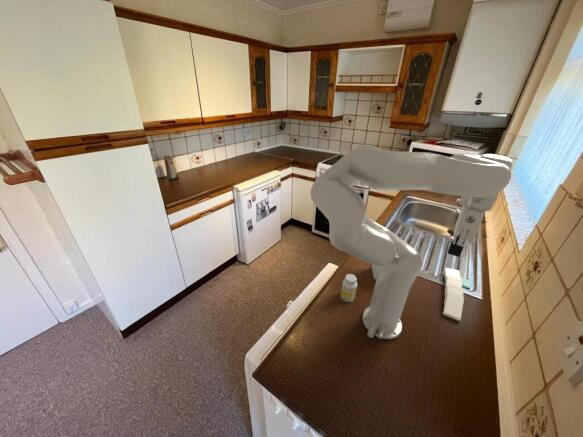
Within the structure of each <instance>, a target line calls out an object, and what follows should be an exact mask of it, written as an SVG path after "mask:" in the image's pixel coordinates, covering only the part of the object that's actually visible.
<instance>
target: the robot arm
mask: <svg viewBox="0 0 583 437" xmlns="http://www.w3.org/2000/svg"><path fill="white" fill-rule="evenodd" d="M512 166H513V160H512V159H511V158H509V157H508V156H504V155H498V154H493V153H486V154H485V153H484V154H481V155H475V154H467V153H458V154H453V155H451V156H446V155H442V154H439V153H438V154H436V153H433V152H427V151H426V152H425V151H423V152H421V151H420V152H419V151H397V150H396V151H394V150H385V149H383V148H379V147H378V146H374V145H371V144H361V145H359V146H356V147H354V148H353V149H351V150H350V151H349V152H347V153H346V154H344V155H343V156H342V157H341V158H340V159H338V160H337V161H336V162H335V163H334V164H332V165H331V166H330V167H329V168H328V169H326V170H325V171H324V172H323V173H322V174H320V175H319V176H318V177H317V178H316V180H314V182H313V184H312V186H311V188H310V191H309V192H310V193H309V194H310V198H311V201H312V202H313V204H314V205H315V206H316V207H317V209H318V210H319V211H320V212H321V213H322V214H323V216H324V217H325V218H326V219H327V220H328V223H329V231H328V233H329V234H328V236H329V240H330V244H331V245H332V246H334V248H336V249H338V250H340V251H342V252H345V253H347V254H349V255H351V256H353V257H355V258H357V259H359V260H362V261H365V262H366V263H368V264H371V265H373V264H374V265H382V266H383V267H384V269H385V272H383V273H381V274H380V275H379V276H378V277H377V279H375V285H374V288H373V293H372V297H371V301H370V305H369V306H368V307H366V308H365V309H364V311H363V314H362V322H363V324H364V326H365V329H367V330H368V331H367V334H366V335H367V336H368V338H372V339H373V338H374V337H375V336H376V337H377V338H378V339H384V340H393V339H395V338H397V337H399V336H400V334H401V332H402V331H403V330H402V329H403V323H402V320H401V317H402V314H403V310H404V308H405V305H406V302H407V300H408V296H409V293H410V290H411V288H412V285H413V283H414V282H415V280H416V278H417V277H418V275H419V274H420V272H421V271H422V270H423V266H424V261H423V259H422V256H421V255H420V253H419V252H418V251H417V250H416V249H415V248H414V247H413V246H411V245H410V244H409V243H407V242H406V241H405V240H404V239H402V238H401V237H400V236H398V235H397V234H395V233H394V232H393V231H391V230H390V229H388V228H387V227H385V226H383V225H382V224H380V223H379V222H376V221H374V220H373V219H371V218H369V217H367V210H366V204H365V201H364V200H363V198H362V197H361V195H360V194H359V193H358V192H357V191H356V190H354V189H353V188H352V187H353V186H355V185H356V184H357V183H358V182H361V183H362V184H364V185H365V186H368V188H371V189H373V190H375V191H382V192H383V191H384V192H386V191H387V192H389V191H390V192H391V191H427V192H431V193H437V194H445V195H452V196H458V197H460V198H459V200H458V202H459V203H458V204H460V206H461V209H460V211H459V212H460V213H459V215H458V218H457V220H456V223H455V227H454V232H453V240H452V241H451V243H450V245H449V247H448V250H447V254H448V255H451V256H454V257H456V258H457V257H458V258H460V256H461V255H462V252H463V249H464V247H465V244H466V242H468V243H469V244H473V243H474V240H475V239H476V236H477V234H478V232H479V229H480V226H481V224H482V221H483V219H484V216H485V213H486V212H490V211H492V208H493V206H494V204H495V202H496V200H497V199H498V198H497V197H498V196H499V194H500V192H502V191H503V190H505V189H506V187H507V186H508V185H509V183H510V181H511V178H512V173H511V168H512Z"/></svg>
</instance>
